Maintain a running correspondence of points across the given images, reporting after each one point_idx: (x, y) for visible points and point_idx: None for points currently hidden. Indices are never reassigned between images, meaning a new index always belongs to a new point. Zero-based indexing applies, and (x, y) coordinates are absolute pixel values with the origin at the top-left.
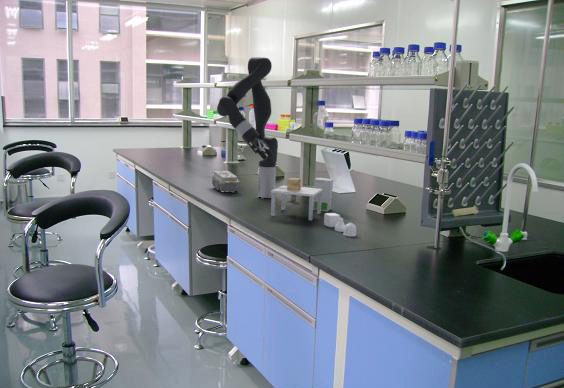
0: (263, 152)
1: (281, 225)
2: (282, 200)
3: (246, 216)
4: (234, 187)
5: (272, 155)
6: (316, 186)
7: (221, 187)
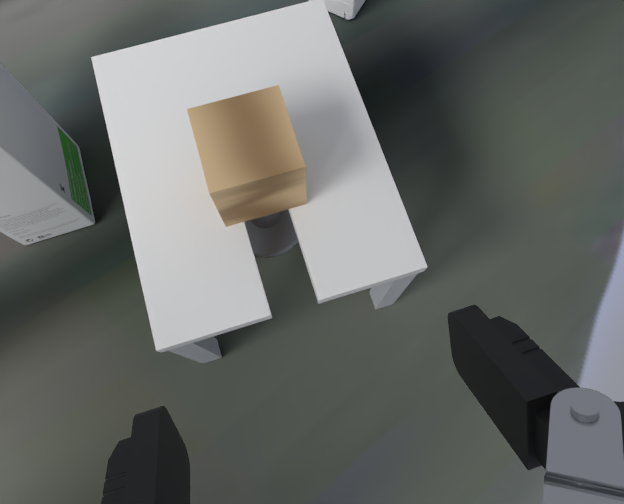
0: (521, 365)
1: (509, 143)
2: (208, 344)
3: None
4: None
5: (165, 418)
6: (12, 139)
7: None
